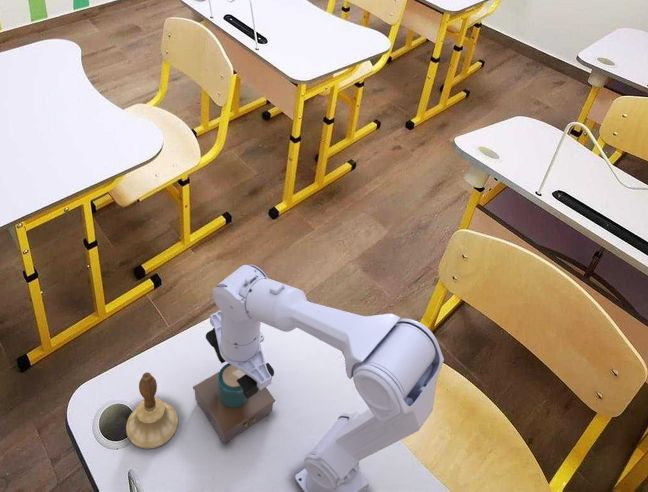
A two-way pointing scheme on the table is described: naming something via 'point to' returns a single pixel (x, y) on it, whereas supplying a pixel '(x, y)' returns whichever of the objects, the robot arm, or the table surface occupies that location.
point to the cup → (230, 387)
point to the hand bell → (151, 418)
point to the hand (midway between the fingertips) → (238, 376)
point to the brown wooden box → (231, 419)
